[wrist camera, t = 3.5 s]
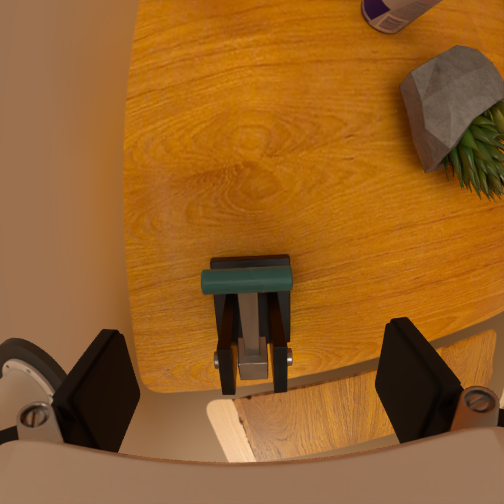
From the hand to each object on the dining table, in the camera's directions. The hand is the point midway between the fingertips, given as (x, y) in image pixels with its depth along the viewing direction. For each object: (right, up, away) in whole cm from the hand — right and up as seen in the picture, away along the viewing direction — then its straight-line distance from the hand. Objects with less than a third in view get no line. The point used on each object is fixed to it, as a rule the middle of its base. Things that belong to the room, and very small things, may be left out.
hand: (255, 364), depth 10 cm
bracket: (0, -1, +24) cm, 24 cm away
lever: (0, -1, +12) cm, 12 cm away
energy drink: (+14, +30, +15) cm, 37 cm away
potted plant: (+21, +18, +19) cm, 33 cm away
